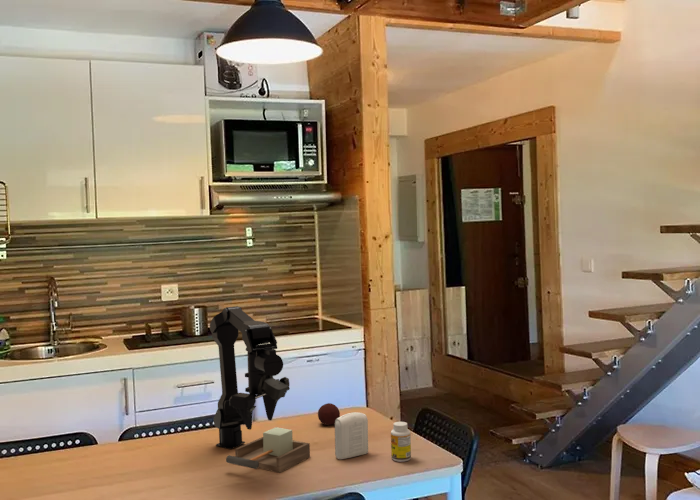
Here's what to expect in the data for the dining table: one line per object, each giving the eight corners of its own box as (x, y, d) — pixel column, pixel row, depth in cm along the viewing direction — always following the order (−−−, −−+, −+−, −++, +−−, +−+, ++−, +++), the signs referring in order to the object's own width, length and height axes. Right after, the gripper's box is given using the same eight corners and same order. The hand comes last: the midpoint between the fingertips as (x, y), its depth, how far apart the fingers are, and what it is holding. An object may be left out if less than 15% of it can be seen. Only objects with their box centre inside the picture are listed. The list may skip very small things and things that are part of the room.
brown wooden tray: (235, 462, 193) (235, 449, 193) (267, 448, 205) (266, 435, 205) (279, 472, 184) (279, 458, 184) (309, 457, 196) (309, 443, 196)
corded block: (226, 466, 186) (225, 445, 185) (271, 446, 202) (270, 426, 202) (254, 473, 180) (253, 451, 180) (298, 451, 197) (297, 430, 196)
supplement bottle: (390, 456, 195) (389, 420, 195) (409, 455, 196) (408, 420, 195) (392, 462, 190) (391, 426, 189) (412, 462, 190) (411, 426, 190)
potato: (316, 427, 224) (315, 406, 224) (320, 420, 232) (320, 400, 232) (337, 428, 223) (337, 407, 223) (342, 421, 231) (341, 400, 231)
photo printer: (362, 449, 201) (361, 408, 201) (370, 453, 198) (369, 411, 197) (333, 457, 196) (331, 414, 195) (341, 461, 192) (339, 418, 192)
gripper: (260, 379, 175) (262, 438, 176) (301, 365, 191) (302, 419, 192) (227, 375, 181) (229, 432, 182) (269, 361, 197) (271, 414, 198)
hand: (259, 424), depth 188 cm, fingers open, 9 cm apart
